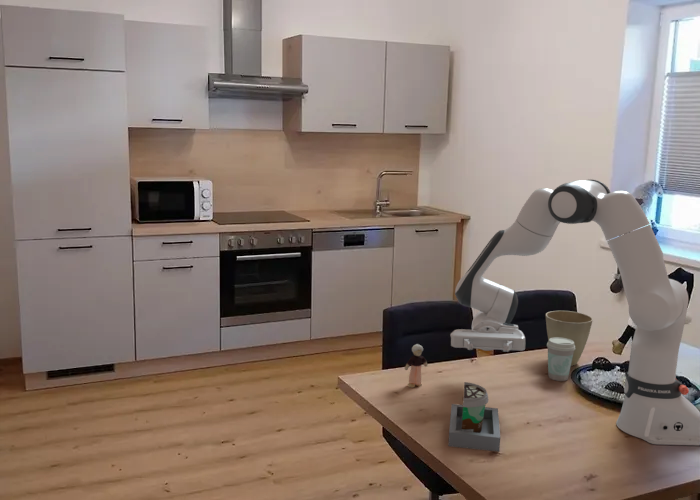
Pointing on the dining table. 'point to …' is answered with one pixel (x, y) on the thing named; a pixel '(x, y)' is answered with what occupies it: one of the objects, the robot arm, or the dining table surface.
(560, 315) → the plant pot
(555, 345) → the coffee cup
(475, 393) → the food container
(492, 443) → the tray
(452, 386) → the dining table surface
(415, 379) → the grandmother figurine
